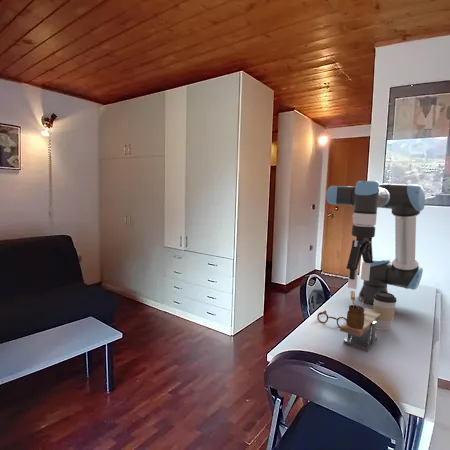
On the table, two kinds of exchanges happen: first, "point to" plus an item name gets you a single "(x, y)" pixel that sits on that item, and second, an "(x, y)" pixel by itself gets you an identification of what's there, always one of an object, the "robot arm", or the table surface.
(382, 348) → the table surface
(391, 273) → the robot arm
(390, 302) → the coffee cup
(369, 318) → the beam
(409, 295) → the table surface
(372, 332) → the stand
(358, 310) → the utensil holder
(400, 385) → the table surface
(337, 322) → the glasses
